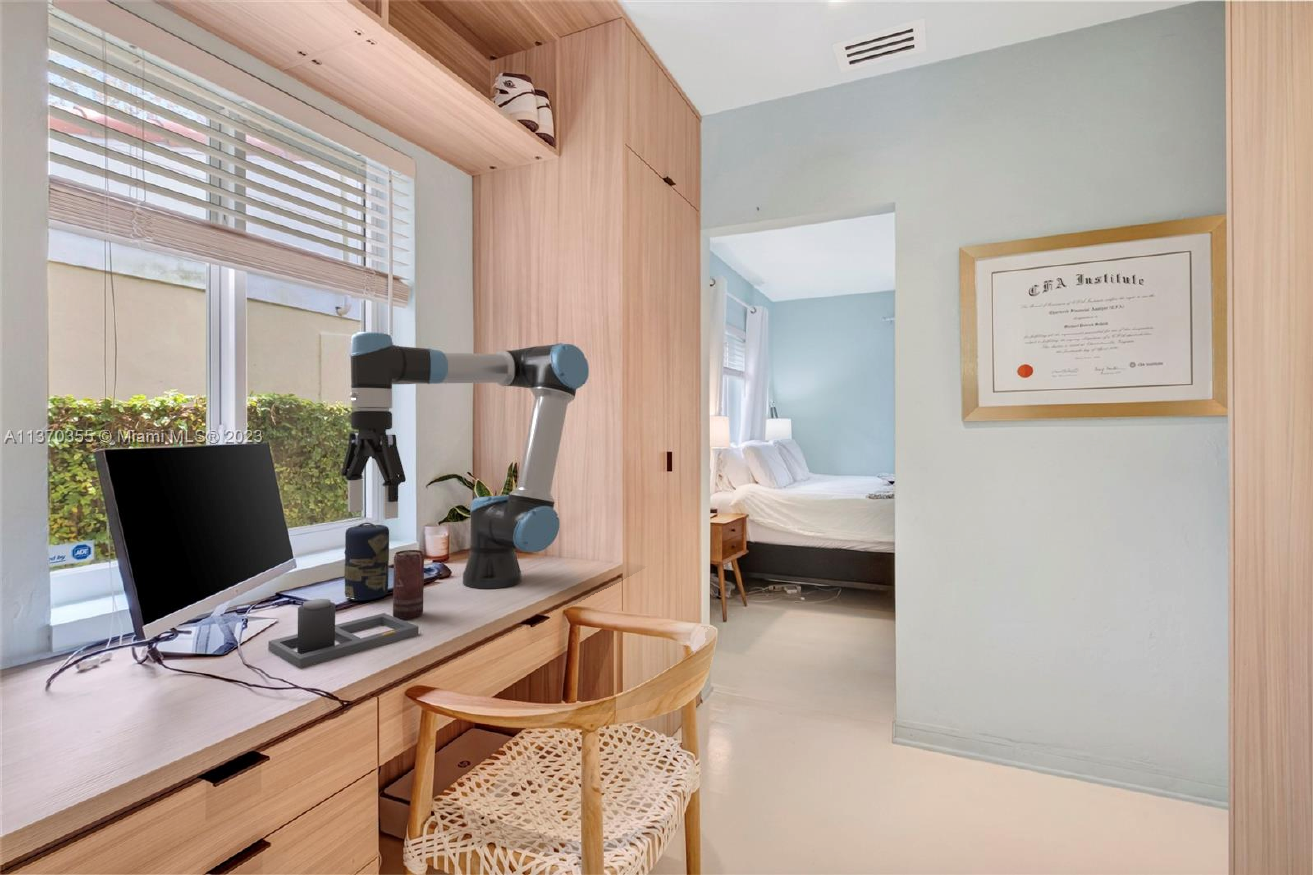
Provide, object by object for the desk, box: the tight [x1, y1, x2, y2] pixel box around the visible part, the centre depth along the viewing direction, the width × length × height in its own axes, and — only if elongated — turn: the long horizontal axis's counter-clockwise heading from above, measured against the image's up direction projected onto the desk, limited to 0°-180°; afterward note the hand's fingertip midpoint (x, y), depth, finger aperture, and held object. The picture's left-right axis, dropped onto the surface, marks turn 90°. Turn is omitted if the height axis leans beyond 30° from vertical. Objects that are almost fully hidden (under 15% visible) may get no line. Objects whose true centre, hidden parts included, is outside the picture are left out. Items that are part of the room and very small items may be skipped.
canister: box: [343, 522, 390, 601], centre depth 143 cm, size 10×10×18 cm
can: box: [392, 549, 425, 621], centre depth 131 cm, size 6×6×14 cm
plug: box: [296, 598, 336, 654], centre depth 110 cm, size 6×6×9 cm
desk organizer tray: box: [268, 612, 420, 669], centre depth 115 cm, size 22×13×2 cm, turn 143°
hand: (372, 514), depth 122 cm, fingers open, 13 cm apart
